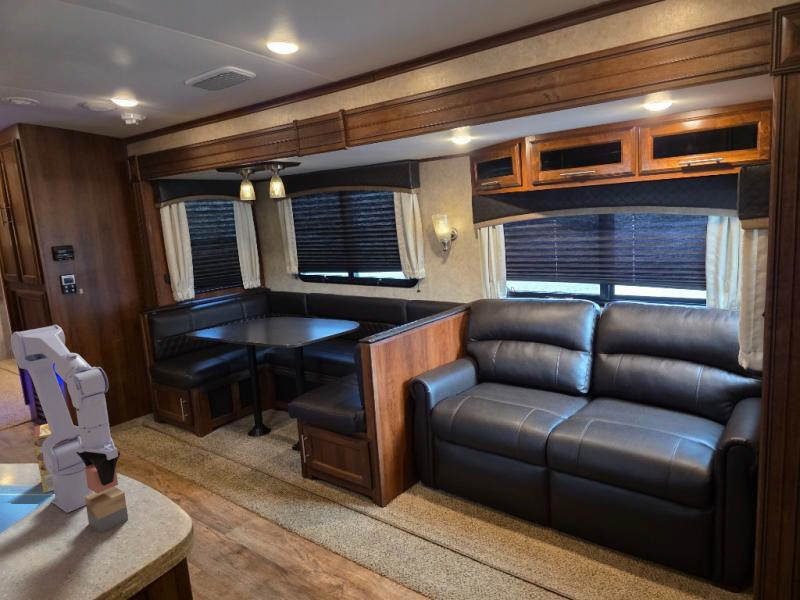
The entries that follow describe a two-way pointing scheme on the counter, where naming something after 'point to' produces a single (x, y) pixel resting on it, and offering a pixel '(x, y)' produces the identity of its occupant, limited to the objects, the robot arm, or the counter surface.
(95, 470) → the red block
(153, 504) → the counter surface
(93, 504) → the tower middle
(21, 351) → the robot arm
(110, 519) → the tower base
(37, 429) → the candy box
